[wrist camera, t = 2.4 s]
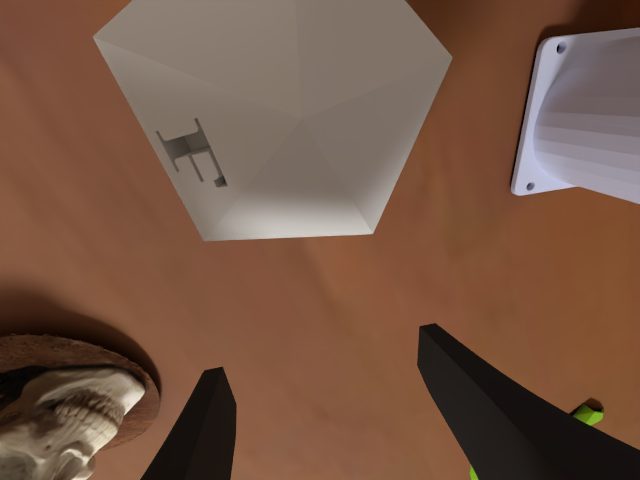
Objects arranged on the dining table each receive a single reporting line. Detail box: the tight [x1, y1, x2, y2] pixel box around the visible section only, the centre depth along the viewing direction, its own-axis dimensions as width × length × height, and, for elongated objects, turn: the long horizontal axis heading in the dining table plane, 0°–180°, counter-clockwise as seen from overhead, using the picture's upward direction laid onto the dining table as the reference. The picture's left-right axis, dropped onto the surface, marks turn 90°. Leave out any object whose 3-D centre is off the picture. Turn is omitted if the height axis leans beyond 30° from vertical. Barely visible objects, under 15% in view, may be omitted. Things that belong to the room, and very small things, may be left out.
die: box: [93, 0, 453, 241], centre depth 10 cm, size 8×9×10 cm
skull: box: [0, 333, 160, 480], centre depth 18 cm, size 12×10×10 cm
